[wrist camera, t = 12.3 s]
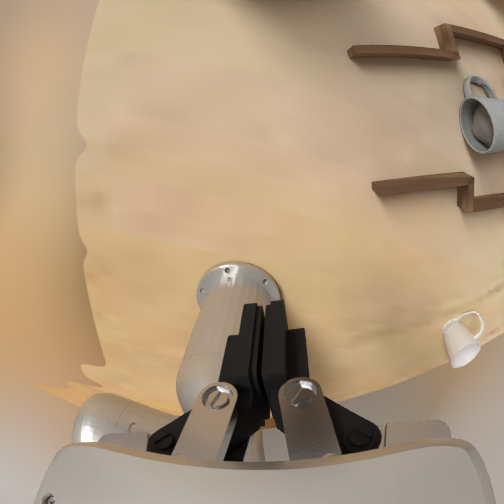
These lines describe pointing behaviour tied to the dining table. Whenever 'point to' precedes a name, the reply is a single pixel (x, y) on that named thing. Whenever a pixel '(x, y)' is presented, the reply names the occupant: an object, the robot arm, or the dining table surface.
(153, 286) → the dining table surface
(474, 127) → the ceramic mug
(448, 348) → the cup
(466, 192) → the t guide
